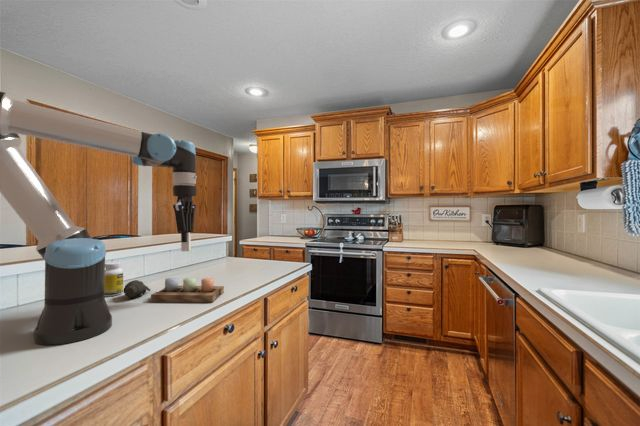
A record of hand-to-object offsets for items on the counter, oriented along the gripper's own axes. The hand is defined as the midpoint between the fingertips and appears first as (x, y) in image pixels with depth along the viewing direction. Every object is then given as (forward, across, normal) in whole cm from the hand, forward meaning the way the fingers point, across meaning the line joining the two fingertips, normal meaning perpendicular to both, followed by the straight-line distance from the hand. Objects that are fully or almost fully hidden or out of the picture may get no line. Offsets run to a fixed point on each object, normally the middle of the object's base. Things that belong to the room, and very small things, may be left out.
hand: (186, 250), depth 102 cm
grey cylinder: (+14, +1, +6) cm, 16 cm away
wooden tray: (+17, +1, 0) cm, 17 cm away
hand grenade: (+17, +1, +19) cm, 25 cm away
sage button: (+15, +1, 0) cm, 15 cm away
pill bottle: (+17, +3, +29) cm, 33 cm away
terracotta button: (+15, +1, -7) cm, 16 cm away
